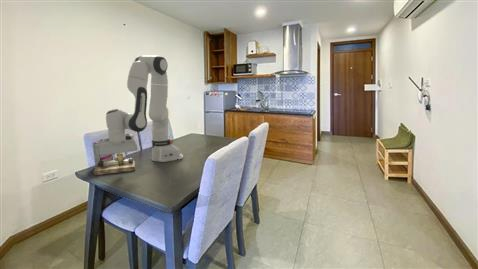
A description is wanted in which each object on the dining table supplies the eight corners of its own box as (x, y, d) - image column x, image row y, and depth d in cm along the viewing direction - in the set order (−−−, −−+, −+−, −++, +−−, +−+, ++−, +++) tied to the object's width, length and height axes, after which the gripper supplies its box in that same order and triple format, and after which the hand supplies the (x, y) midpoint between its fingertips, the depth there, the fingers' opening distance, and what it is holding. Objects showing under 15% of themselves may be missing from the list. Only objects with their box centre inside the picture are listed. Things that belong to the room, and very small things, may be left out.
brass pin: (125, 164, 142) (123, 153, 141) (121, 166, 139) (120, 154, 137) (120, 163, 143) (119, 152, 141) (117, 165, 140) (115, 154, 138)
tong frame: (133, 161, 156) (132, 157, 156) (133, 163, 153) (132, 158, 153) (98, 165, 148) (98, 160, 148) (98, 166, 145) (97, 162, 145)
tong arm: (128, 162, 153) (128, 159, 153) (128, 163, 151) (128, 160, 151) (98, 165, 146) (98, 162, 146) (98, 166, 144) (97, 163, 144)
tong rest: (134, 164, 159) (134, 160, 158) (135, 170, 147) (134, 166, 147) (97, 168, 150) (96, 164, 150) (94, 175, 138) (93, 171, 138)
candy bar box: (107, 161, 163) (105, 138, 159) (113, 162, 162) (111, 139, 158) (94, 167, 152) (91, 142, 149) (101, 167, 151) (98, 143, 148)
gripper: (96, 140, 130) (100, 164, 133) (136, 136, 139) (139, 158, 141) (97, 138, 136) (101, 161, 139) (135, 134, 144) (138, 156, 147)
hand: (120, 160), depth 140 cm, fingers closed on brass pin, 3 cm apart
